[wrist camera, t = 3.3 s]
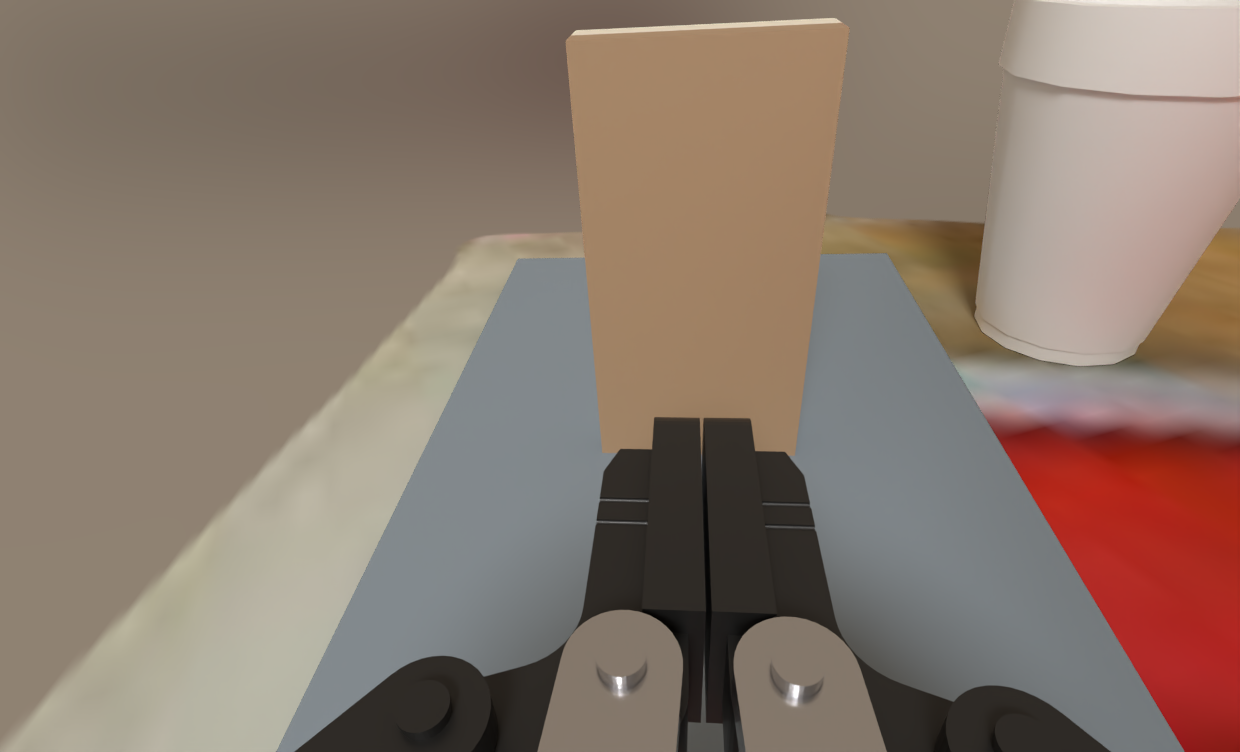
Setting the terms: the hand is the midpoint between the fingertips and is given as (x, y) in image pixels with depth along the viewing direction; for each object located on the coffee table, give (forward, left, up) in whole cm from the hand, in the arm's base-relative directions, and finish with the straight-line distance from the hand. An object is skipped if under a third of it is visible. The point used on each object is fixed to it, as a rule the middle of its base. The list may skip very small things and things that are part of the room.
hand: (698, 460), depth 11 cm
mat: (-7, -9, -9) cm, 14 cm away
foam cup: (-24, -6, -9) cm, 26 cm away
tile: (-6, -8, -8) cm, 13 cm away
